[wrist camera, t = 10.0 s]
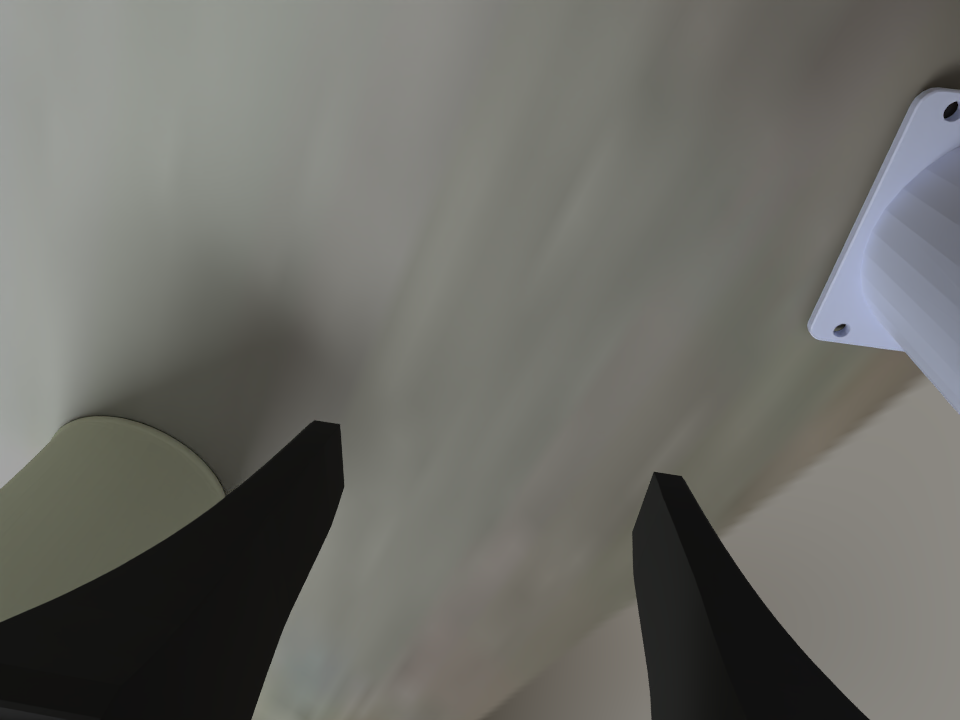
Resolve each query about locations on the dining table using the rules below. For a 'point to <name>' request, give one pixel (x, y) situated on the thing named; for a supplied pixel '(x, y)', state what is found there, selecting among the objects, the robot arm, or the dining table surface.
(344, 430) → the dining table surface
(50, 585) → the can
